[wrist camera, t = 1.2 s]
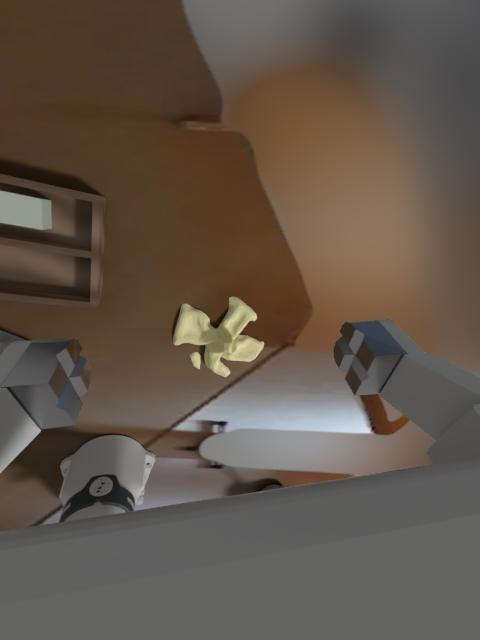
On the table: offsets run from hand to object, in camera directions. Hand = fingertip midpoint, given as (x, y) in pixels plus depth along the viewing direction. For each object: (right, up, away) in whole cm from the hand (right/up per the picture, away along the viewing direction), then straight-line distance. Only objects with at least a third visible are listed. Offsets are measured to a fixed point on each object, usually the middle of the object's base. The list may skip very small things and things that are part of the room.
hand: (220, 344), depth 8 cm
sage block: (-30, +17, +30) cm, 46 cm away
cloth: (-3, -4, +48) cm, 48 cm away
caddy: (-31, +13, +32) cm, 47 cm away
